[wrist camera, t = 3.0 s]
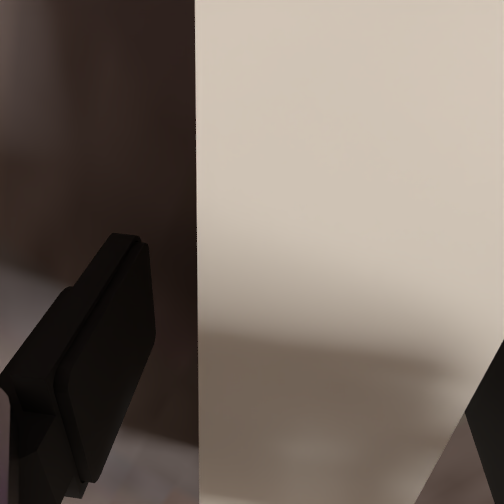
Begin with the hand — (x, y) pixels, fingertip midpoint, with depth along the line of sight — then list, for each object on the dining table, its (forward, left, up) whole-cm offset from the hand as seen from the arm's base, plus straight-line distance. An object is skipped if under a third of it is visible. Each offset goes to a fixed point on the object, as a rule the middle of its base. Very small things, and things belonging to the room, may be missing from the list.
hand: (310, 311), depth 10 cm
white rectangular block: (0, 0, -1) cm, 1 cm away
